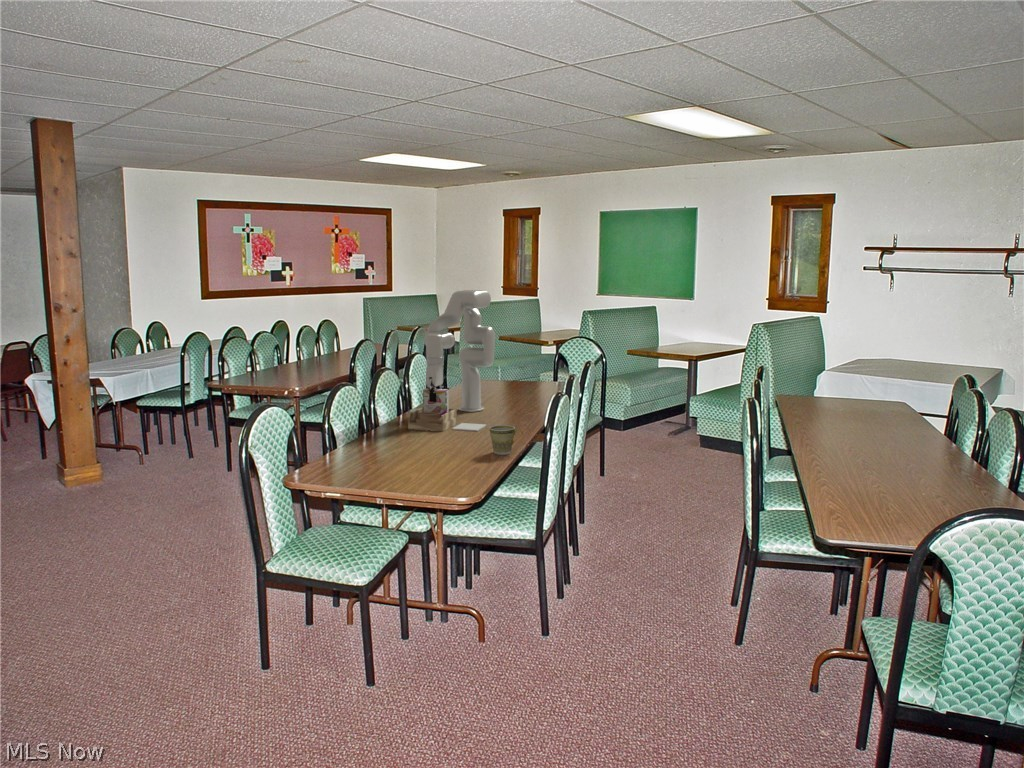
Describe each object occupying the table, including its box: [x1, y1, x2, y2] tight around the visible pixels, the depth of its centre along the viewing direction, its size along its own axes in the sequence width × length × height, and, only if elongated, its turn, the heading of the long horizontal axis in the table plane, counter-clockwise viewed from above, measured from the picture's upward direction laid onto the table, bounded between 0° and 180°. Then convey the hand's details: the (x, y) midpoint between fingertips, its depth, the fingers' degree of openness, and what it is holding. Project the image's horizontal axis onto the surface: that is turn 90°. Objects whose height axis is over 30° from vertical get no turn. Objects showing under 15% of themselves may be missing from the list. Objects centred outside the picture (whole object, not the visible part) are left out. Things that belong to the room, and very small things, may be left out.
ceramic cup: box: [488, 424, 524, 456], centre depth 292 cm, size 13×10×10 cm
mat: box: [451, 422, 487, 432], centre depth 338 cm, size 12×12×1 cm
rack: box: [407, 406, 458, 432], centre depth 341 cm, size 17×17×7 cm
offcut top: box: [419, 412, 440, 420], centre depth 337 cm, size 5×9×2 cm, turn 101°
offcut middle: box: [416, 418, 441, 424], centre depth 338 cm, size 6×11×2 cm, turn 81°
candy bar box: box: [422, 388, 450, 418], centre depth 344 cm, size 11×5×16 cm, turn 83°
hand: (435, 400), depth 343 cm, fingers closed on candy bar box, 5 cm apart
